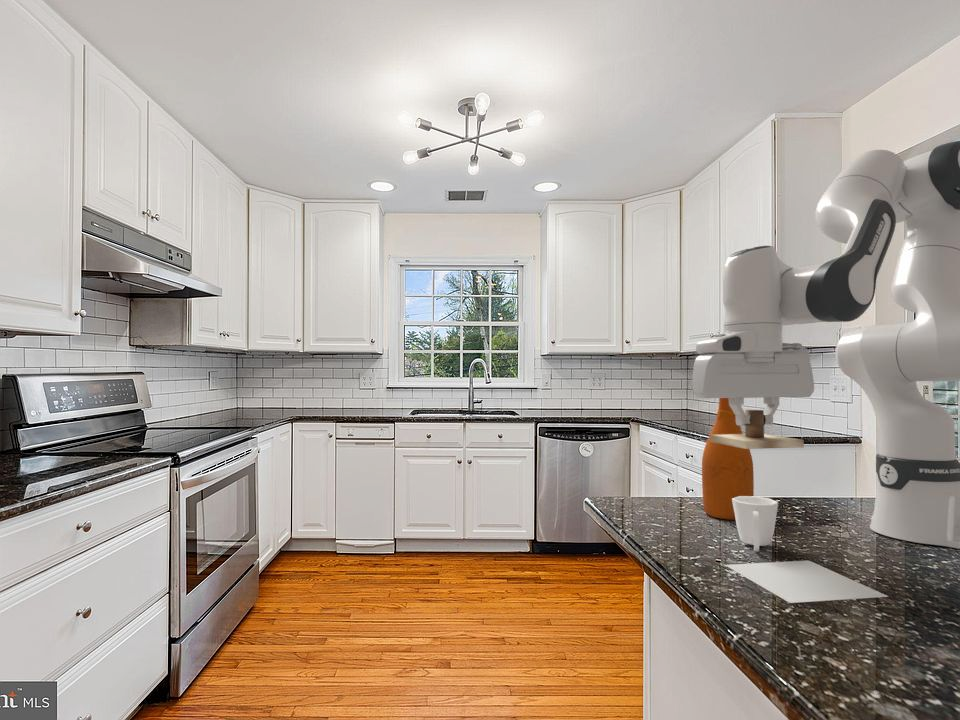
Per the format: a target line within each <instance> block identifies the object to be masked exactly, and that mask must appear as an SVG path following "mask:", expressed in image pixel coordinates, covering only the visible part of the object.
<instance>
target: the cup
mask: <svg viewBox="0 0 960 720" xmlns="http://www.w3.org/2000/svg"><path fill="white" fill-rule="evenodd" d="M732 502H733V508H734V513H735V519H736V520H735V524H736V530H737V533H738V535H739V539H740V541H741V542H743V543H745V544H747V545H751V546H753V552H755V553H760V546H761V547H767V546H769V545H771V543H772V540H773V537H774V532H775V526H776V521H777V513H778V508H779V502H778V501H776V500H773V499H771V498H768V497H761V496H738V497H735V498H732Z"/></svg>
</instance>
